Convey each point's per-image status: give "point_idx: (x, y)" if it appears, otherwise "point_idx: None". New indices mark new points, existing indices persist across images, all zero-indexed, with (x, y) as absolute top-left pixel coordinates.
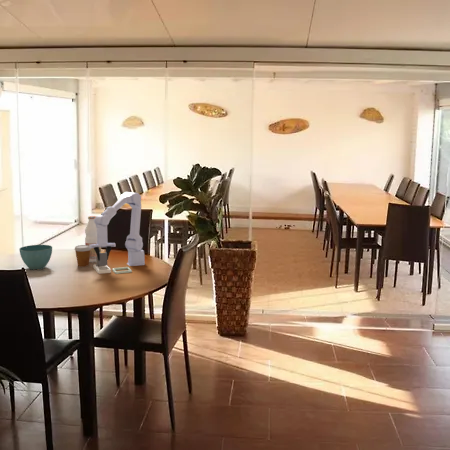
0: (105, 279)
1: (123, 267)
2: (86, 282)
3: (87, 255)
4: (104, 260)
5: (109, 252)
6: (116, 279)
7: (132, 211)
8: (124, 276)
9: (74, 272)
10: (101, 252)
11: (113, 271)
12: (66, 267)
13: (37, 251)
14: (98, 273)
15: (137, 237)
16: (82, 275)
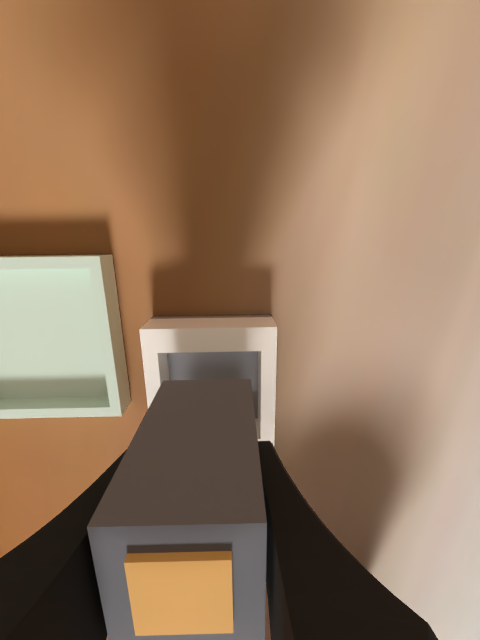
0: (243, 73)
1: (8, 409)
2: (470, 8)
3: None
4: (187, 414)
5: (20, 545)
6: (123, 15)
7: None
8: (24, 135)
9: (436, 454)
10: (216, 583)
11: (121, 354)
12: (437, 596)
13: None
14: (272, 317)
15: None
16: (410, 336)
